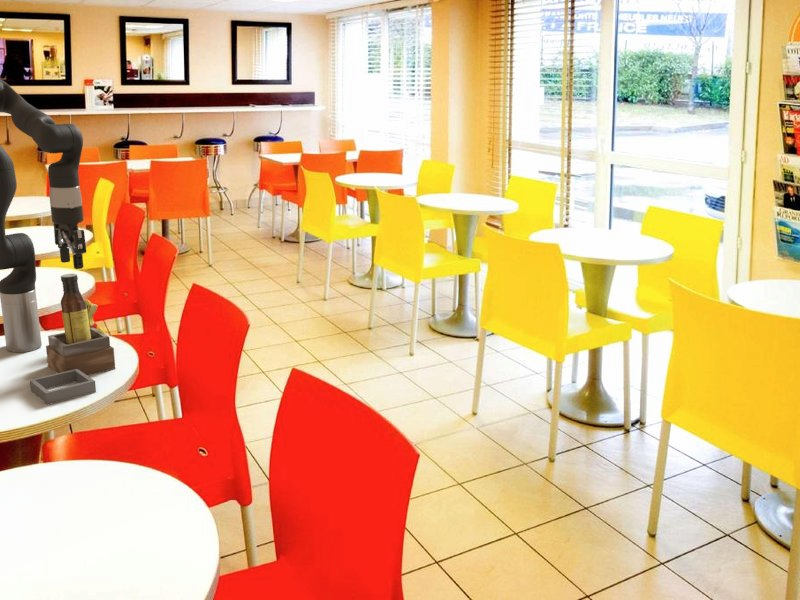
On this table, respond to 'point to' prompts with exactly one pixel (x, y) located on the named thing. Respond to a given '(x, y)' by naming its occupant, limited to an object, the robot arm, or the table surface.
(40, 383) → the low holder
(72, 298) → the sauce bottle
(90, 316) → the chocolate bunny
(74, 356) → the walnut dock
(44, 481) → the table surface
